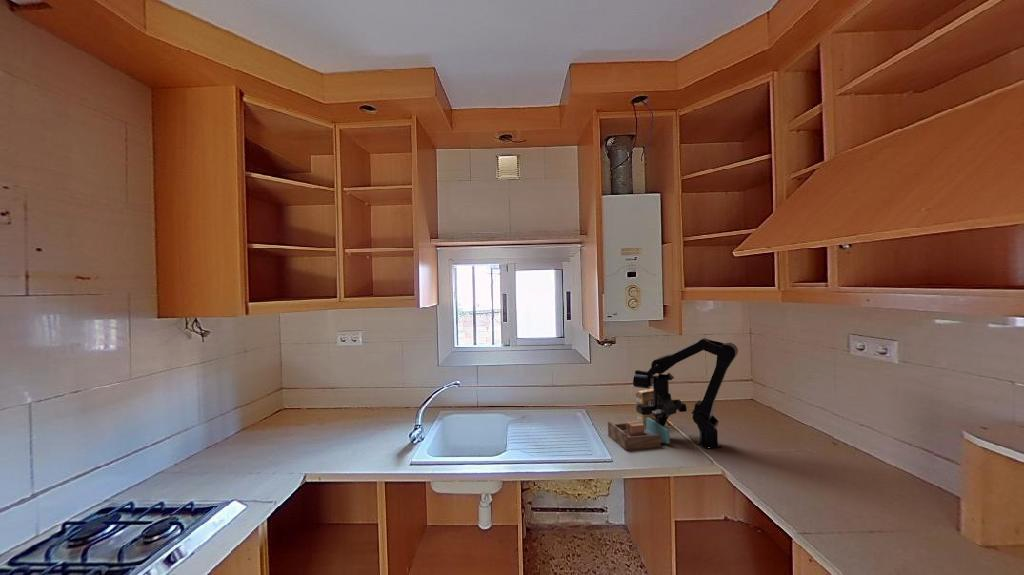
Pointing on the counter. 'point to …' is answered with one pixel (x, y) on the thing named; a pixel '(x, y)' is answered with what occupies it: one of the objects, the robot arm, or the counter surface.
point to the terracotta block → (634, 428)
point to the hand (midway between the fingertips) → (661, 429)
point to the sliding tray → (656, 430)
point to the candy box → (644, 398)
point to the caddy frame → (632, 438)
